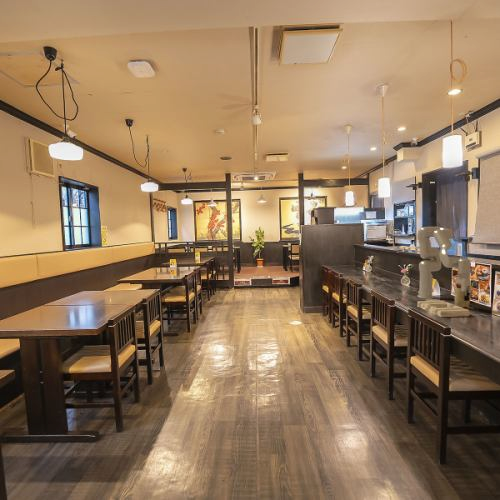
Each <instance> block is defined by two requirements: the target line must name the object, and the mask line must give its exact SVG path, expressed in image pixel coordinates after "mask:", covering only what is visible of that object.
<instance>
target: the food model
mask: <svg viewBox="0 0 500 500" xmlns="http://www.w3.org/2000/svg"><path fill="white" fill-rule="evenodd" d="M466 291H468V290H466ZM466 293H468V292H466ZM471 294H472V293H471ZM471 294H470V296H469V301H464V296H465V293H464V292H462V291H461V283H460V282H459V283H456V287H455V288H454V305H456V306H459V307H462V308H464V309H467V310H469V307H470V302H471Z"/></svg>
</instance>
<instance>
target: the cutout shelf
mask: <svg viewBox="0 0 500 500" xmlns="http://www.w3.org/2000/svg"><path fill="white" fill-rule="evenodd" d="M416 306H417V307H418V308H420V309H423V310H425V311H426V312H429V313H431V314H433V315H435V316H438V317H440V318H447V317H449V318H450V317H452V318H453V317H469V316H470V310H469V309H464V308H462V307H459V306H456V305H455V304H453V303H451V302H447V301H445V300H424V301H422V300H420V301H419V300H418V301H417V305H416Z"/></svg>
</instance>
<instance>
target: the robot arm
mask: <svg viewBox="0 0 500 500" xmlns="http://www.w3.org/2000/svg"><path fill="white" fill-rule="evenodd" d="M431 237H432V238H434V239H435V241H436V243H437V245H438V247H439V248H438V247H435V246H433V247H432V244H431V240H430V239H429V238H431ZM453 237H454V232H453V231H452V230H451V229H450V228H446V227H441V226H423V227H421V228H419V230H418V231H417V240H418V246H419V256H420V258H422V259H424V260H422V261H419V264H418V270H419V290H418V291H417V293H418V294H417V295H416V297H418V298H420V299H425V300H427V299H428V300H429V299H430V300H432V299H434V298H435V296H434V295H433V282H434V281H433V278H434V276H433V274H432V272H438V271H440V270H441V269H442V265H443V266H444V267H445V268H450V269H451V268H452V269H453V268H457V276H456V278H455V282H454V283H455V284H454V286H453V287H454V289H455V287H456V283H459V282H460V283H461V291H462V292H464V293H465V296H464V301H469V296H470V294H472V293H473V290H472V289H471V286H472V285H471V279H470V278H471V259H469V258H463V257H457V256H456V257H450V256H449V255H448V253H447V250H449V249H451V248H452V247H453V243H452V242H451V239H453ZM425 259H426V260H425ZM428 259H429V260H428ZM466 290H468V291H466ZM466 292H468V293H466Z"/></svg>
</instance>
